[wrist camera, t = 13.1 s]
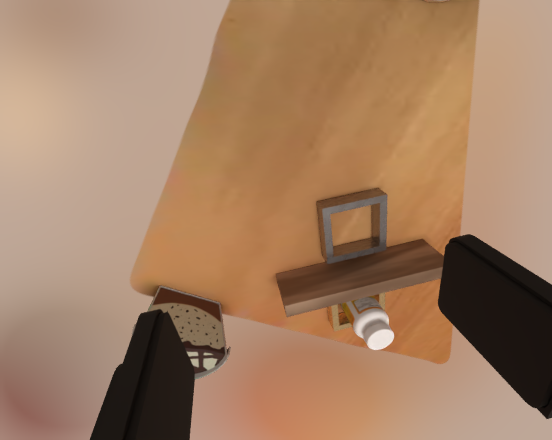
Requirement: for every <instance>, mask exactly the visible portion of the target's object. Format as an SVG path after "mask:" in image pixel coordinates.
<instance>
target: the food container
mask: <svg viewBox="0 0 552 440" xmlns="http://www.w3.org/2000/svg"><path fill="white" fill-rule="evenodd" d="M157 309H161V310H162V311H163V313H165V312H168V313H169V314H170V316H171V318H172V321H173V323H174V325H175V327H176V329H177V332H178V334H179V336H180V338H181V340H182V342H183V345H184V347H185V349H186V351H187V353H188V356H189V358H190V360H191V362H192V364H193V367H194V372H195V379H199V378H202V377H204V376H207V375H209V374H211V373H213V372H215V371H216V370H218V369H219V368H220V367H221V366H222V365H223V364H224V363H225V362H226V361H227V358H228V356H229V353H230V348H231V347H229V348H228V349H226V341H225V334H224V326H223V319H222V311H221V304H220V302H217V301H213V300H210V299H206V298H203V297H199V296H196V295H193V294H189V293H186V292H182V291H179V290H175V289H172V288H169V287H165V286H162V285H160V286H159V288H158V290H157V292H156V294H155V297H154V299H153V301H152V303H151V305H150V307H149V309H148V311H147V312H149V311H153V310H157ZM135 326H136V324H135V325H134V328H133V332H134V329H135ZM132 335H133V334H132Z"/></svg>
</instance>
